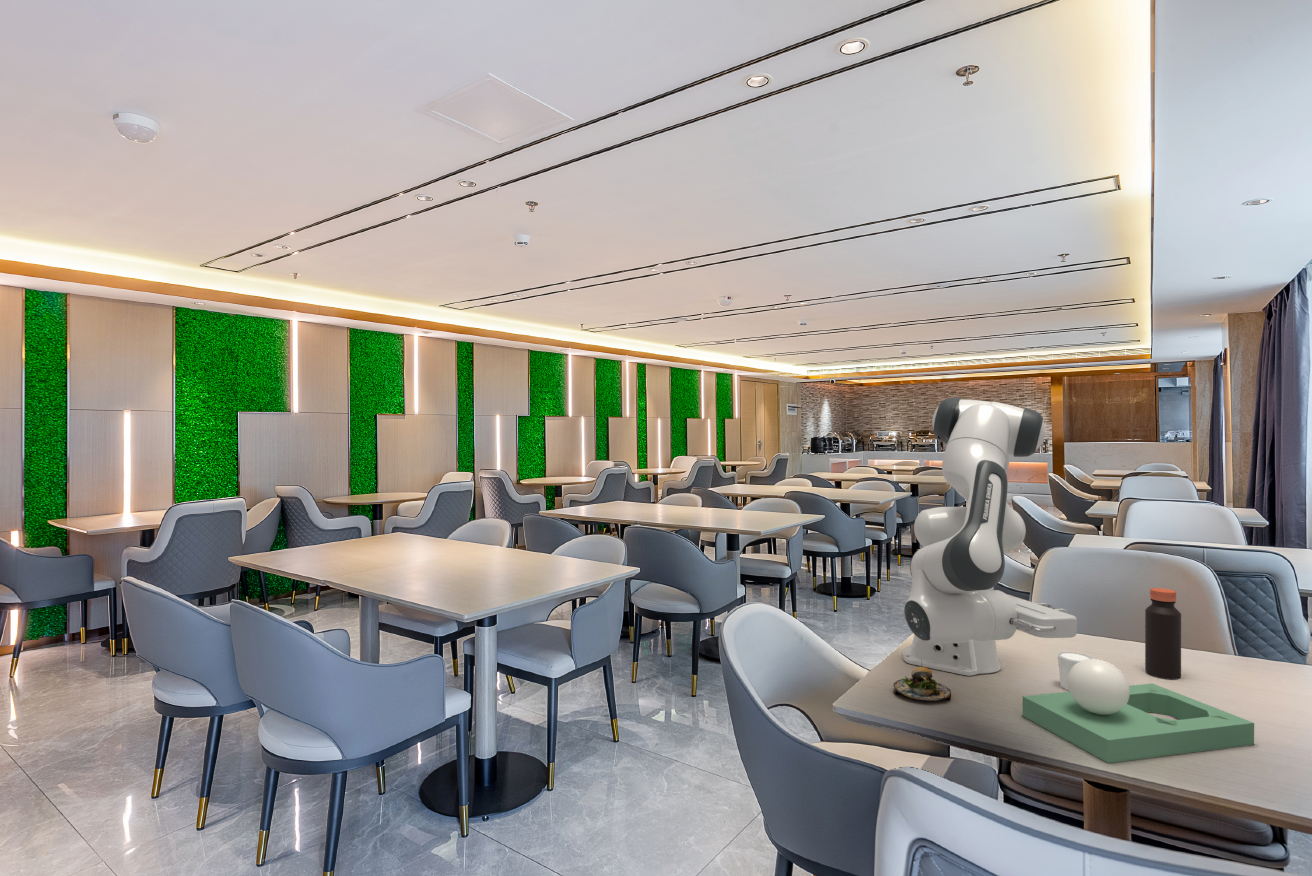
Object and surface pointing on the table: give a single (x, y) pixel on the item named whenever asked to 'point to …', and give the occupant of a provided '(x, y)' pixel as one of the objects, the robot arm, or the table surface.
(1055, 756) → the table surface
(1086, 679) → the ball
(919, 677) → the burger
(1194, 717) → the green cutout tray
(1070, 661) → the white cup
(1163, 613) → the bottle
